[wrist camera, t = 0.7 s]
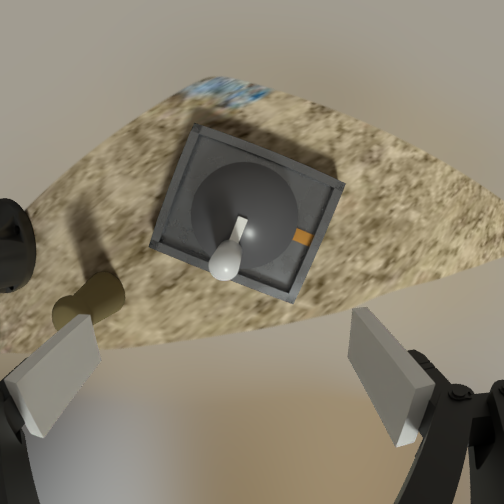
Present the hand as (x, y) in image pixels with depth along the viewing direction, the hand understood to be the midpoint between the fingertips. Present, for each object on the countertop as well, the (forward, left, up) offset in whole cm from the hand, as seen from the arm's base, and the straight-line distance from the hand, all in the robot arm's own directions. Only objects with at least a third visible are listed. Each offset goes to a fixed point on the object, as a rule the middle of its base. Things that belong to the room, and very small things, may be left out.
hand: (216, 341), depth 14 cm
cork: (-15, -13, -24) cm, 31 cm away
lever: (-1, +4, -21) cm, 22 cm away
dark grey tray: (-1, +4, -23) cm, 24 cm away
